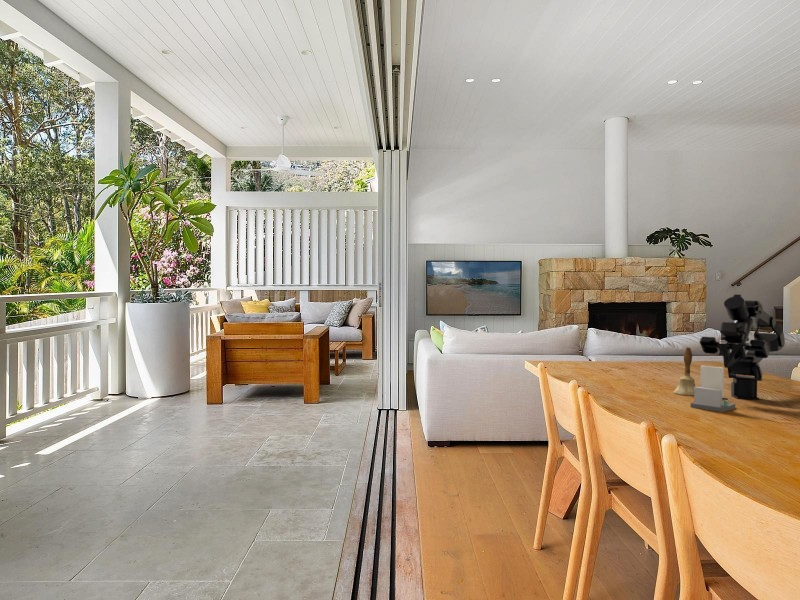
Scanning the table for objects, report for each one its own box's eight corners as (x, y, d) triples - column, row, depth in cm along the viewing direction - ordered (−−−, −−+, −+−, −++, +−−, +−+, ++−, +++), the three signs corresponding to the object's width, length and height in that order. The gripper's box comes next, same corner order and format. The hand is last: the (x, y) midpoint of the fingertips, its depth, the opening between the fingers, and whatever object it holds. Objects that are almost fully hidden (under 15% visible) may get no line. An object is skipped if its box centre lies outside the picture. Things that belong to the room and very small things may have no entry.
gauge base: (703, 403, 175) (704, 383, 175) (735, 407, 168) (735, 387, 168) (690, 407, 169) (690, 386, 169) (722, 412, 162) (723, 390, 162)
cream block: (697, 400, 172) (697, 364, 172) (728, 405, 165) (729, 368, 165) (695, 400, 171) (695, 365, 171) (726, 405, 164) (727, 368, 164)
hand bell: (694, 391, 195) (694, 346, 195) (704, 396, 187) (705, 349, 187) (669, 391, 196) (670, 346, 196) (678, 395, 188) (679, 348, 188)
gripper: (702, 312, 185) (687, 347, 178) (766, 314, 170) (752, 352, 163) (711, 334, 190) (697, 369, 183) (774, 338, 176) (762, 376, 169)
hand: (725, 366), depth 174 cm, fingers closed
